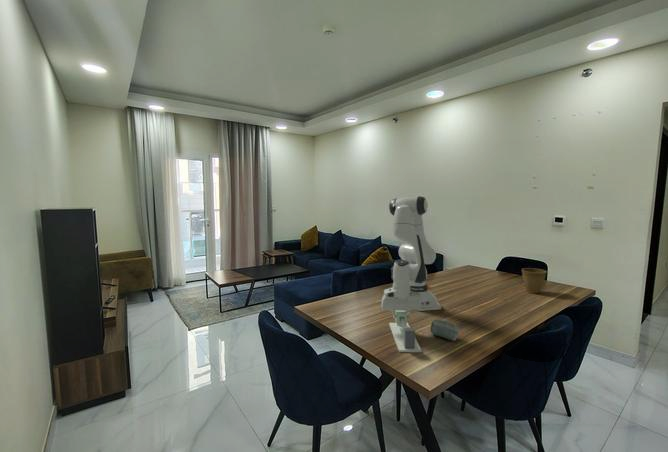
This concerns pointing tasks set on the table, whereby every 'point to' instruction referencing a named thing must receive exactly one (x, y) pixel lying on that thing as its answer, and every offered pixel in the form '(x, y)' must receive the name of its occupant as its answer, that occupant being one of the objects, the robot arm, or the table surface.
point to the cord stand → (404, 337)
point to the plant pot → (533, 279)
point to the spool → (444, 329)
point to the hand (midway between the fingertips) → (400, 317)
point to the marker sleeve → (400, 314)
